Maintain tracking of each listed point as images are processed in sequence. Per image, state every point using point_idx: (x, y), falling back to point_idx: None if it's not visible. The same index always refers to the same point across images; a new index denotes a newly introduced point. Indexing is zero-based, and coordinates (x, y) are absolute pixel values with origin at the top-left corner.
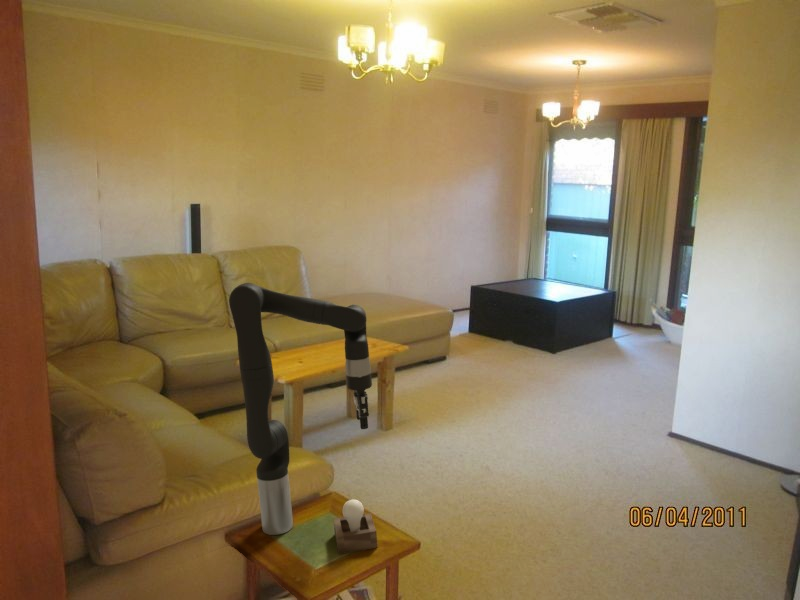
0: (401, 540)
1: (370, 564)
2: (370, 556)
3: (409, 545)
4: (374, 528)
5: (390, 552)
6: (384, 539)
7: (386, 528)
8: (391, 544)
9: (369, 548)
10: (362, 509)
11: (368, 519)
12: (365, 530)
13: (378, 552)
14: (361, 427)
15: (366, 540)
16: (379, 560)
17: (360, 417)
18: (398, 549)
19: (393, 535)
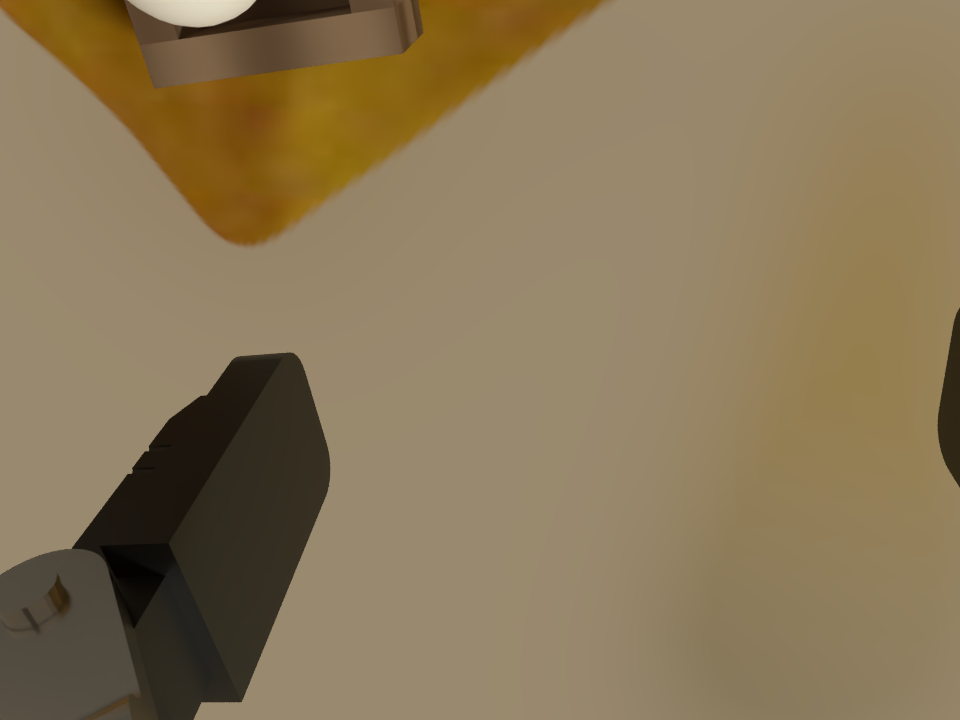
0: (277, 204)
1: (30, 17)
2: (109, 18)
3: (228, 239)
4: (188, 77)
5: (157, 136)
6: (291, 110)
7: (415, 129)
8: (237, 147)
9: None
10: (159, 19)
11: (309, 36)
12: None
13: None
14: (230, 382)
15: None
16: (75, 71)
17: (102, 559)
18: (188, 181)
19: (332, 165)
